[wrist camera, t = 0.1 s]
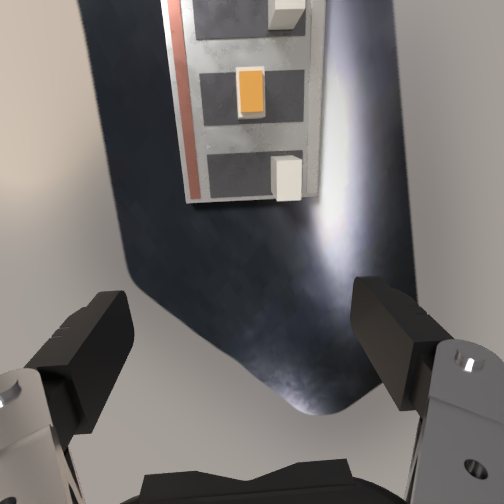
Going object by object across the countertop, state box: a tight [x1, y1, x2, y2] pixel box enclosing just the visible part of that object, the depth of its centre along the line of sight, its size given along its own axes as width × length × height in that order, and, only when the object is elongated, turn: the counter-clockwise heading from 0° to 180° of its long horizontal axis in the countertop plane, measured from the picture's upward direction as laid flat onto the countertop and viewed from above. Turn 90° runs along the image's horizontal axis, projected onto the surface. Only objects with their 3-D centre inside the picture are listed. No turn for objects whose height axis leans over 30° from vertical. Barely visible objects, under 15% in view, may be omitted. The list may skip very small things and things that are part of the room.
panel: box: [161, 0, 326, 203], centre depth 33 cm, size 22×16×2 cm
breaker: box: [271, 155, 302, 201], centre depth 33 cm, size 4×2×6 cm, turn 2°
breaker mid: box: [236, 66, 265, 119], centre depth 29 cm, size 4×2×6 cm, turn 2°
